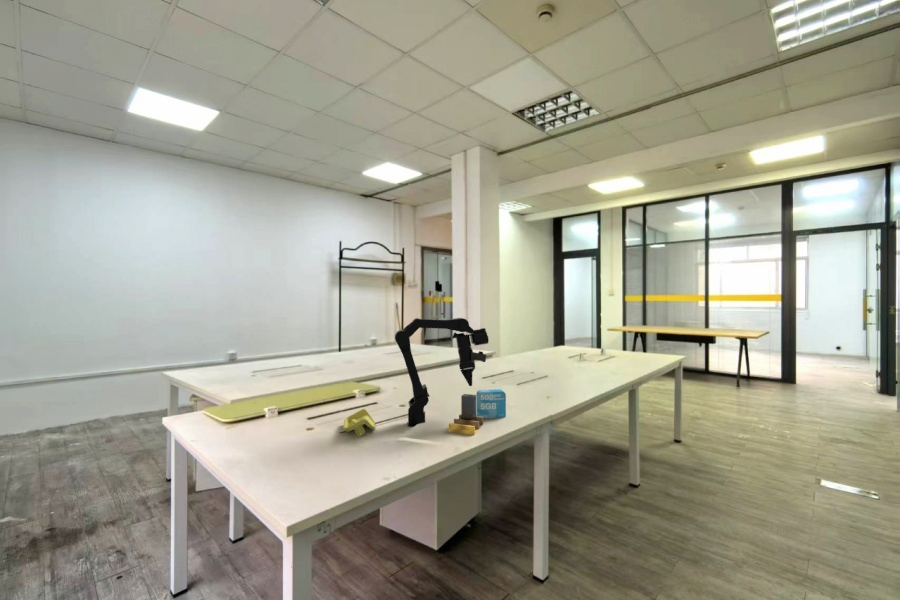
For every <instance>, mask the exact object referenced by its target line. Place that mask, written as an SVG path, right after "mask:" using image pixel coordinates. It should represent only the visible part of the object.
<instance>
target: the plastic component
mask: <svg viewBox="0 0 900 600" xmlns="http://www.w3.org/2000/svg"><path fill="white" fill-rule="evenodd" d="M363 425H366V427H368V428H369V429H371V430H376V428H377V427H376V423H375V421H374V419H373V418H372V416H371V415H370V413H369V412H368V411H367V409H365V408H362V409H360V410H358V411H357V412H355V413H353V414H351V415H348V416H347V417H346V418H345V419H344V421H343V426H342V428H343V429H344V431H345V432H347V433H349V432H352V431H354V433H355V435H356V437H357V436H359V437H361V436H364V435H365V434H366V430H365V427H364V426H363ZM359 437H358V438H359Z"/></svg>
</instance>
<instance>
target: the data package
mask: <svg viewBox="0 0 900 600" xmlns="http://www.w3.org/2000/svg"><path fill="white" fill-rule="evenodd" d="M475 395H476V416H479V417H483V419H492V418H493V419H495V418H496V419H497V418H498V419H499V418H506V416H507V395H506V392H505V391H503V390H502V389H500V388H499V389H495V388H493V389H479V390H477V391H476V394H475Z"/></svg>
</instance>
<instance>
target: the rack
mask: <svg viewBox="0 0 900 600" xmlns="http://www.w3.org/2000/svg"><path fill="white" fill-rule="evenodd" d="M483 425H484V418H483V417H479V416H477V415H476V421H472V420H463V419H461V414H459V415H458V418H453V423H450V422H449V423H448V432H449V433H453V434H461V435H462V434H463V435H471V436H475V435H476V434H477V432H478V431H479V430H480V429H481V428H482V427H483Z"/></svg>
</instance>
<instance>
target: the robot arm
mask: <svg viewBox="0 0 900 600" xmlns="http://www.w3.org/2000/svg"><path fill="white" fill-rule="evenodd" d="M419 329H439V330H441V329H444V330H449V331H454V332H453V334H452V336H451V337H450V338H451V339H456V340H455V341H456V345H457V353H458V357H459V363H458V365H459V366H458V367H459V370H460V372H461V374H462V376H463V377H464V379H465V381H466V383H467V384H468V386H469V387H472V386H473V372H474V371H475V369H476V362H475V361H478V362H479V361H480V362H482V363H486V361H487V354H484V351H478V352H474V351H473V349H472V345H474V346H475V347H477V346H481V345H488V344H489V336H488V332H487V330H486V329H487V328H485V327H482V328H479V329H473V327H471V326H470V323H469V321H468V319H466V318H463V317H456V318H455V317H454V318H449V319H432V318H431V319H429V318H418V317H415V318H414V319H413V320H412V321H410V323H409V324H407V325H406V326H405V327H404V328H403V329H399V330H397V331H396V332H395V334H394V340H395V342H396V345H397V346H398V348H399V350H400V352H401V354H402V357H403V359H404V362H405V366H406V369H407V372H408V376H409V379H410V382H411V387H412V397H411V399H409V401H408V402H407V403H408V409H407V412H408V413H407V417H408V418H407V427H416V426H417V425H419V424H424V423H426V411H425V409H424V408H425V407H426V406H427V405H428V404H429V397H430V394H429V392H428V387H427V384H426V383H425V384H422V383H421V379H420V376H419V373H418V372H419V371H418V370H417V367H416V363H415V360H414V357H413V353H412V349H411V340H410V338H411V337H412V336H413V335H414V334H415V333H416V332H417V330H419ZM457 332H458V333H457ZM465 333H467V334H465Z"/></svg>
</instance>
